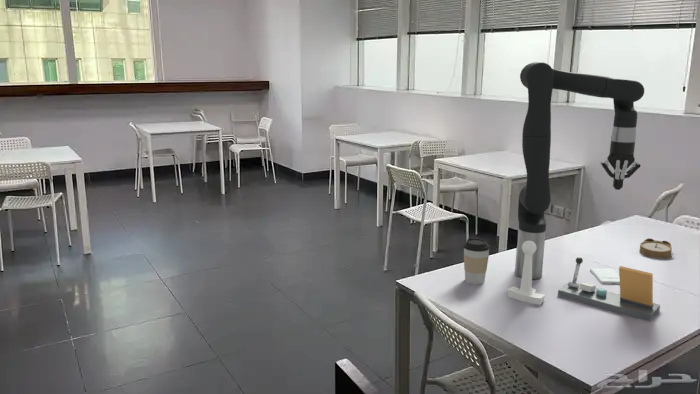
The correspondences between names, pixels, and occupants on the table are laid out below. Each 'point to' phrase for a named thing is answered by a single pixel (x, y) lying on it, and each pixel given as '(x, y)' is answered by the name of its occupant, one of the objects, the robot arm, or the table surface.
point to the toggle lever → (576, 274)
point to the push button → (601, 292)
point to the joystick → (527, 279)
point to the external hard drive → (606, 275)
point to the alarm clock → (655, 248)
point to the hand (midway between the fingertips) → (617, 189)
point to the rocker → (587, 287)
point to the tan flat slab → (636, 287)
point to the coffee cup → (475, 260)
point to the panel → (609, 302)
